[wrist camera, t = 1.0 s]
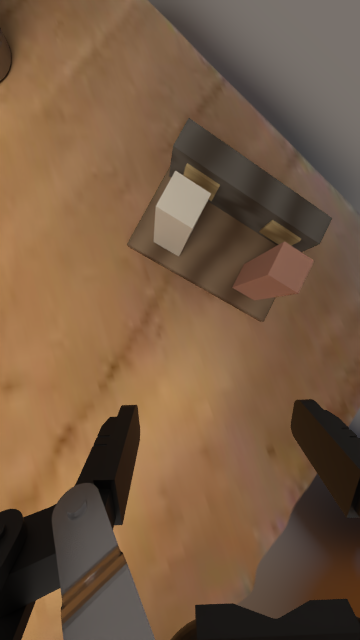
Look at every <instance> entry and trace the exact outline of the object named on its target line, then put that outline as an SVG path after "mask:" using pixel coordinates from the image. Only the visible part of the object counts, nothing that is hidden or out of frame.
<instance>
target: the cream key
mask: <svg viewBox="0 0 360 640" xmlns="http://www.w3.org/2000/svg"><path fill="white" fill-rule="evenodd" d="M210 195H211V193H209V192H208V191H206V190H205V189H203V188H202V187H200V186H198V185H197V184H195V183H194V182H192V181H191V180H189V179H188V178H186V177H185V176H183V175H182V174H180V173H178V172H177V171H175V172H174V174H173V176H172V178H171V179H170V181H169V183H168V185H167V187H166V189H165V190H164V192H163V194H162V196H161V198H160V199H159V201H158V203H157V205H156V211H155V227H154V242H155V243H156V244H158V245H160V246H161V247H163V248H165V249H167V250H168V251H170V252H172V253H173V254H175V255H177V256H179V255H180V253H181V252H182V250H183V248H184V246H185V244H186V242H187V240H188V238H189V237H190V235H191V233H192V231H193V229H194V227H195V225H196V223H197V221H198V219H199V217H200V215H201V213H202V211H203V209H204V207H205V205H206V203H207V201H208V199H209V197H210Z"/></svg>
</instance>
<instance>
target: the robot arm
mask: <svg viewBox="0 0 360 640" xmlns="http://www.w3.org/2000/svg"><path fill="white" fill-rule="evenodd" d="M10 64H11V52H10V47H9V45H8V43H7V40H6V38H5V36H4V34H3V32H2V30H1V28H0V81H1V80H2V79H3V78H4V77H5V76H6V74H7V72H8V71H9V68H10ZM291 430H292V434H293V436H294V438H295V440H296V441H297V443H298V444H299V446H300V447H301V449H302V450H303V452H304V453H305V455H306V456H307V458H308V459H309V461H310V463H311V464H312V466H313V467H314V469H315V470H316V472H317V473H318V475H319V476H320V478H321V479H322V481H323V482H324V484H325V485H326V487H327V488H328V490H329V492H330V493H331V494H332V496H333V498H334V499H335V501H336V502H337V504H338V505H339V507H340V508H341V510H342V511H343V513H344V514H345V516H346V518H350V517H351V518H352V517H360V438H357V435H356V434H355V433H354V432H353V431H352V430H349V427H348V426H346V425H345V424H344V423H343V422H342V421H341V420H340V419H339V418H338V417H337V416H335V415H333V414H332V413H330V412H329V411H327V410H323V409H322V408H321V407H320V406H319V405H318V404H317V402H315V401H314V400H312V399H309V400H296V401H295V403H294V408H293V414H292V420H291ZM139 441H140V424H139V415H138V407H137V405H122V406H121V408H120V410H119V413H118V416H117V417H110V418H109V419H108V420H107V421H106V422H105V423H104V424H103V425H102V427H101V429H100V431H99V434H98V437H97V438H96V440H95V443H94V446H93V447H92V449H91V452H90V454H89V456H88V458H87V460H86V463H85V465H84V467H83V469H82V472H81V474H80V476H79V478H78V481H77V483H76V484H75V486H74V487H72V488H71V489H70V490H68V491H67V492H66V493H65V494H64V495H63V496H62V497H61V498H60V500H59V501H58V503H57V504H55V505H53V506H51V507H49V508H47V509H44V510H42V511H39V512H36V513H34V514H31V515H28V516H26V517H23V516H22V513H21V512H20V511H19V510H16V509H8V510H5V511H2V512H0V640H21V639H22V636H23V633H24V631H25V628H26V625H27V623H28V620H29V617H30V615H31V612H32V609H33V607H34V604H35V601H36V600H37V599H39V598H41V597H43V596H45V595H47V594H49V593H51V592H53V591H55V590H57V589H59V588H61V595H62V607H61V621H62V630H63V639H64V640H155V638H154V635H153V633H152V630H151V627H150V625H149V622H148V619H147V616H146V614H145V611H144V608H143V605H142V603H141V600H140V597H139V594H138V592H137V589H136V586H135V584H134V581H133V578H132V575H131V573H130V570H129V567H128V565H127V562H126V559H125V557H124V555H123V553H122V552H121V551H120V549H119V546H118V544H117V541H116V538H115V535H114V532H113V527H114V525H122V524H123V520H124V515H125V510H126V505H127V500H128V495H129V490H130V485H131V480H132V476H133V471H134V466H135V461H136V456H137V451H138V446H139ZM195 618H196V619H195V620H193V621H191V622H189V623H188V624H186V625H185V626H184V627H183V628H181V629H180V630H179V631H178V632H177V633H176V634H175V635H174V636H173V637H172V639H171V640H360V618H358V617H356V616H355V614H354V612H353V610H352V608H351V606H350V604H349V602H348V600H347V599H333V600H310V601H308V602H306V603H305V604H303V605H301V606H299V607H298V608H296V609H294V610H292V611H291V612H289V613H287V614H286V615H284V616H282V617H280V618H278V619H273V618H270V617H267V616H265V615H262V614H259V613H257V612H254V611H251V610H249V609H246V608H243V607H241V606H238V605H235V604H233V603H232V604H207V605H195Z"/></svg>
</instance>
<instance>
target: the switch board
mask: <svg viewBox="0 0 360 640" xmlns="http://www.w3.org/2000/svg"><path fill="white" fill-rule="evenodd" d="M175 171H177V172H178V173H180V174H182V175H183V176H185V177H186V178H188V179H189V180H191V181H192V182H194V183H195V184H197V185H198V186H200V187H202V188H203V189H205V190H206V191H208V192H209V193H211V195H210V197H209V199H208V201H207V203H206V205H205V207H204V209H203V211H202V213H201V215H200V217H199V219H198V221H197V223H196V225H195V227H194V229H193V231H192V233H191V235H190V237H189V238H188V240H187V242H186V244H185V246H184V248H183V250H182V252H181V253H180V255H179V256H177V255H175V254H173V253H172V252H170V251H168V250H167V249H165V248H163V247H161V246H160V245H158V244H156V243H155V242H154V227H155V211H156V205H157V203H158V201H159V199H160V198H161V196H162V194H163V192H164V190H165V189H166V187H167V185H168V183H169V181H170V179H171V178H172V176H173V174H174V172H175ZM331 219H332V218H331V217H330V216H328V215H327V214H325V213H324V212H323V211H321V210H320V209H318V208H317V207H315V206H314V205H313V204H311V203H310V202H308V201H307V200H305V199H304V198H303V197H301V196H300V195H298V194H297V193H295V192H294V191H293V190H291V189H290V188H288V187H287V186H285V185H284V184H283V183H281V182H280V181H278V180H277V179H275V178H274V177H273V176H271V175H270V174H268V173H267V172H265V171H264V170H263V169H261V168H260V167H258V166H257V165H255V164H254V163H253V162H251V161H250V160H248V159H247V158H245V157H244V156H243V155H241V154H240V153H238V152H237V151H235V150H234V149H233V148H231V147H230V146H228V145H227V144H225V143H224V142H223V141H221V140H220V139H218V138H217V137H215V136H214V135H213V134H211V133H210V132H208V131H207V130H205V129H204V128H203V127H201V126H200V125H198V124H197V123H195V122H194V121H193V120H191V119H190V118H189V119H188V120H187V122H186V124H185V126H184V128H183V129H182V131H181V133H180V135H179V137H178V138H177V140H176V142H175V144H174V146H173V151H172V158H171V165H170V167H169V169H168V171H167V173H166V175H165V176H164V178H163V180H162V182H161V184H160V186H159V187H158V189H157V191H156V193H155V195H154V196H153V198H152V200H151V202H150V204H149V205H148V207H147V209H146V211H145V213H144V214H143V216H142V218H141V220H140V222H139V223H138V225H137V227H136V229H135V231H134V233H133V234H132V236H131V238H130V240H129V242H128V243H127V245H128V247H130V248H131V249H133V250H135V251H137V252H139V253H140V254H142V255H144V256H146V257H147V258H149V259H151V260H153V261H154V262H156V263H158V264H160V265H161V266H163V267H165V268H167V269H169V270H170V271H172V272H174V273H176V274H177V275H179V276H181V277H183V278H184V279H186V280H188V281H190V282H191V283H193V284H195V285H197V286H199V287H200V288H202V289H204V290H206V291H207V292H209V293H211V294H213V295H214V296H216V297H218V298H220V299H221V300H223V301H225V302H227V303H228V304H230V305H232V306H234V307H236V308H237V309H239V310H241V311H243V312H244V313H246V314H248V315H250V316H251V317H253V318H255V319H257V320H258V321H263V322H264V320H265V318H266V316H267V314H268V312H269V310H270V308H271V306H272V304H273V301H274V299H275V297H273V298H267V299H261V300H255V301H254V300H253V299H251V298H249V297H247V296H246V295H244V294H242V293H240V292H239V291H237V290H235V289H234V288H232V287H233V285H234V283H235V281H236V279H237V277H238V275H239V273H240V271H241V269H242V267H243V265H244V264H245V263H247V262H249V261H250V260H252V259H254V258H256V257H258V256H259V255H261V254H263V253H265V252H266V251H268V250H270V249H272V248H274V247H275V246H277V245H279V244H281V243H282V242H284V241H285V242H286V243H288V244H289V245H291V246H292V247H294V248H296V249H297V250H299V251H300V252H302V251H305V250H307V249H309V248H312V247H314V246H316V245H318V244H320V242H321V240H322V238H323V236H324V234H325V232H326V230H327V228H328V226H329V224H330V222H331Z"/></svg>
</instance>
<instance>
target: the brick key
mask: <svg viewBox="0 0 360 640" xmlns="http://www.w3.org/2000/svg"><path fill="white" fill-rule="evenodd" d="M313 262H314V260H312V259H311V258H309V257H308V256H306V255H305V254H303V253H302V252H300V251H299V250H297V249H296V248H294V247H292V246H291V245H289V244H288V243H286V242H285V241H284V242H282V243H281V244H279V245H277V246H275V247H274V248H272V249H270V250H268V251H266V252H265V253H263V254H261V255H259V256H258V257H256V258H254V259H252V260H250V261H249V262H247V263H245V264H244V265H243V267H242V269H241V271H240V273H239V275H238V277H237V279H236V281H235V283H234V285H233V287H232V288H234V289H235V290H237V291H239V292H240V293H242V294H244V295H246V296H247V297H249V298H251V299H253V300H254V301H255V300H261V299H267V298H273V297H279V296H286V295H292V294H298V293H299V291H300V289H301V287H302V285H303V283H304V281H305V279H306V277H307V275H308V273H309V271H310V269H311V267H312V264H313Z"/></svg>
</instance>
